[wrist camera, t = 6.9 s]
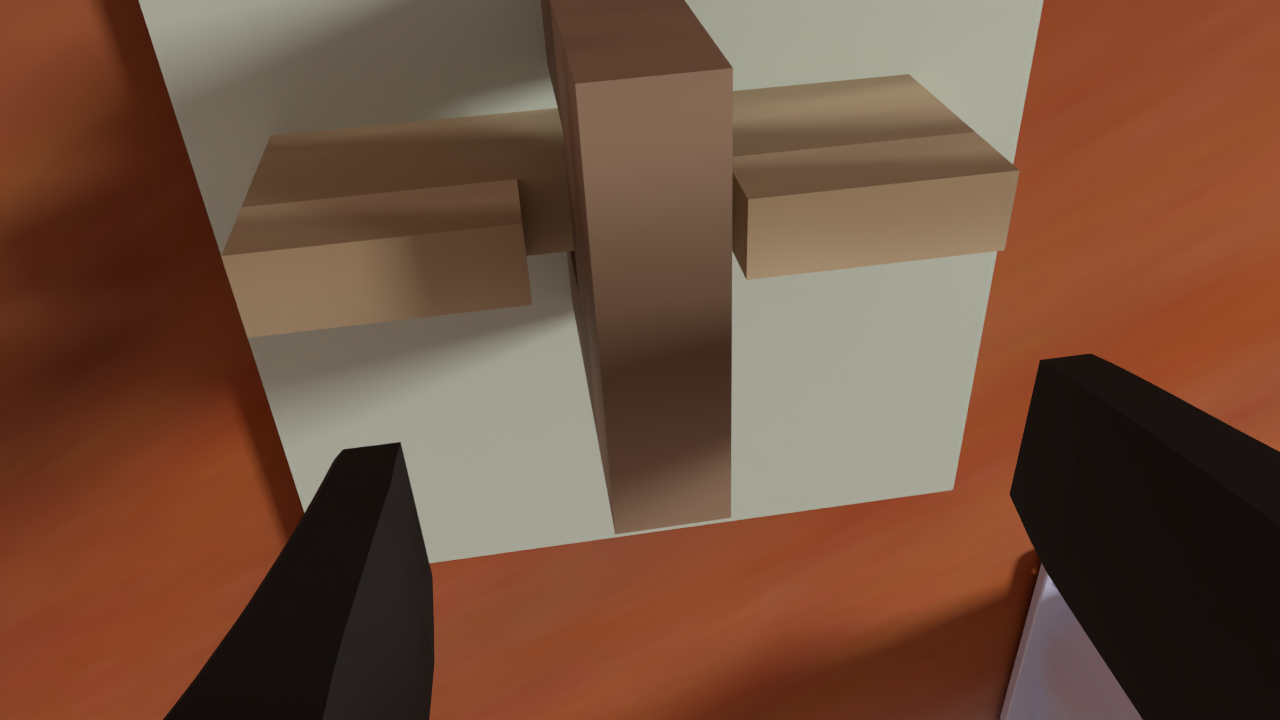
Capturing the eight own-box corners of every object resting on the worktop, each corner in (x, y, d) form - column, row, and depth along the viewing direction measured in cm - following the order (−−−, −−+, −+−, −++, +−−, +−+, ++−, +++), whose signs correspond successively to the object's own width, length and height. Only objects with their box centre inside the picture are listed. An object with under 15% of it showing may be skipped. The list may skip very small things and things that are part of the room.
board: (940, 469, 26) (952, 490, 26) (328, 554, 25) (325, 577, 24) (1039, -102, 18) (1060, -93, 18) (145, -31, 17) (132, -19, 16)
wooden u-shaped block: (901, 142, 20) (1004, 250, 16) (289, 205, 19) (247, 337, 15) (909, 73, 19) (1020, 170, 15) (270, 135, 18) (220, 255, 14)
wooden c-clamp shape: (656, 289, 21) (731, 518, 15) (571, 299, 21) (615, 534, 15) (639, -63, 17) (732, 68, 11) (534, -54, 17) (575, 83, 11)
